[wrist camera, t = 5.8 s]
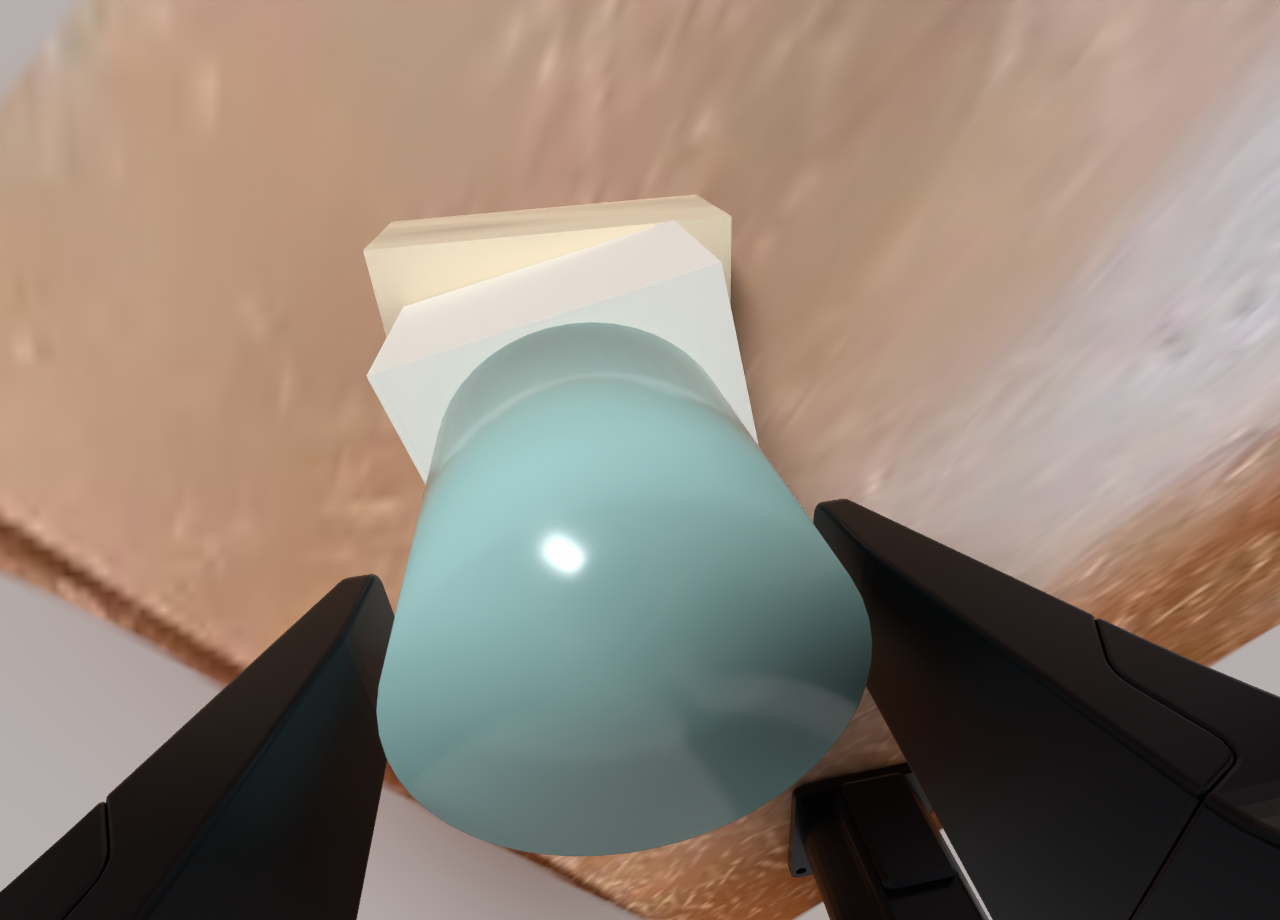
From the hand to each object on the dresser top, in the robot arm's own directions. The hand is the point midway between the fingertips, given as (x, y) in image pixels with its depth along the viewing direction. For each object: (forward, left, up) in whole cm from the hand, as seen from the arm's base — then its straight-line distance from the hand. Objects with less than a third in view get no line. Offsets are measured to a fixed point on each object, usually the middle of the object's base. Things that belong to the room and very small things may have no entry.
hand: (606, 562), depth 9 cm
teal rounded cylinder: (0, 0, -2) cm, 3 cm away
